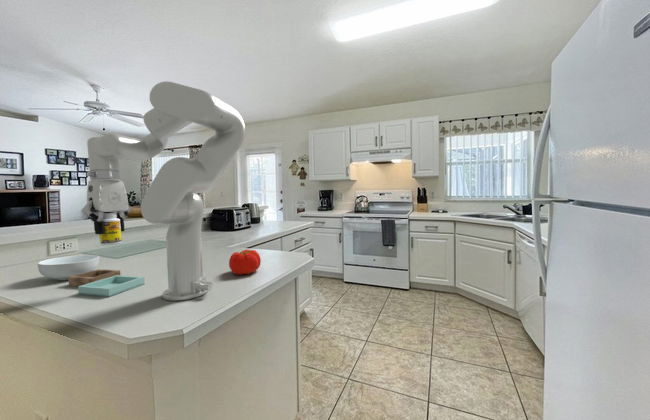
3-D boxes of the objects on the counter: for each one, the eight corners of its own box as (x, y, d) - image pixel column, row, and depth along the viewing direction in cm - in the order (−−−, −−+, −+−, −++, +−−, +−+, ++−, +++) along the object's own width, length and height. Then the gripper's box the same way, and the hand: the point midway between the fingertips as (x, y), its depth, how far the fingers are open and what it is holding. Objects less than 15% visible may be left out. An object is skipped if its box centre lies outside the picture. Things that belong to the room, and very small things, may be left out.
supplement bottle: (98, 246, 83) (95, 213, 83) (101, 244, 88) (99, 213, 87) (121, 244, 86) (118, 212, 86) (122, 242, 91) (120, 212, 90)
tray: (144, 284, 92) (144, 277, 92) (109, 297, 80) (108, 288, 80) (116, 282, 94) (116, 275, 94) (78, 294, 83) (78, 286, 83)
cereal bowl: (70, 284, 93) (69, 264, 93) (24, 284, 93) (23, 264, 93) (110, 271, 110) (110, 254, 110) (71, 271, 110) (70, 254, 110)
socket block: (120, 278, 99) (120, 270, 99) (91, 287, 89) (91, 278, 89) (99, 277, 101) (98, 269, 101) (68, 285, 91) (68, 277, 91)
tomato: (243, 267, 113) (243, 247, 112) (267, 270, 107) (266, 249, 107) (219, 275, 101) (219, 253, 101) (244, 279, 96) (244, 255, 95)
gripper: (84, 174, 77) (90, 236, 78) (139, 177, 94) (143, 229, 94) (65, 175, 79) (71, 236, 79) (122, 179, 95) (126, 229, 96)
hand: (110, 232), depth 87 cm, fingers closed on supplement bottle, 5 cm apart
